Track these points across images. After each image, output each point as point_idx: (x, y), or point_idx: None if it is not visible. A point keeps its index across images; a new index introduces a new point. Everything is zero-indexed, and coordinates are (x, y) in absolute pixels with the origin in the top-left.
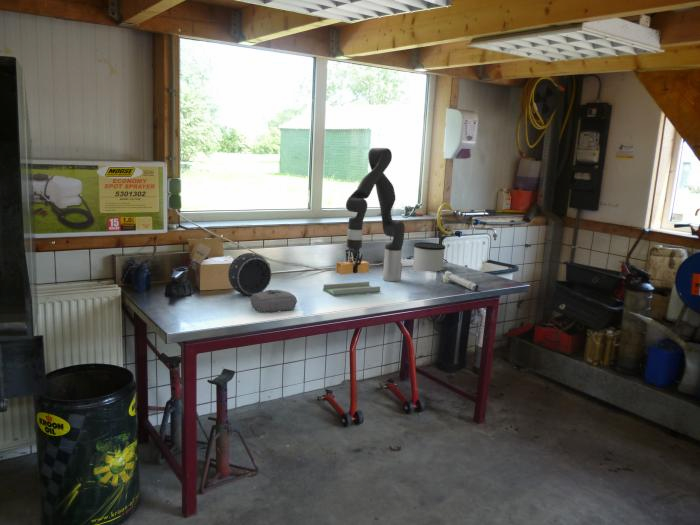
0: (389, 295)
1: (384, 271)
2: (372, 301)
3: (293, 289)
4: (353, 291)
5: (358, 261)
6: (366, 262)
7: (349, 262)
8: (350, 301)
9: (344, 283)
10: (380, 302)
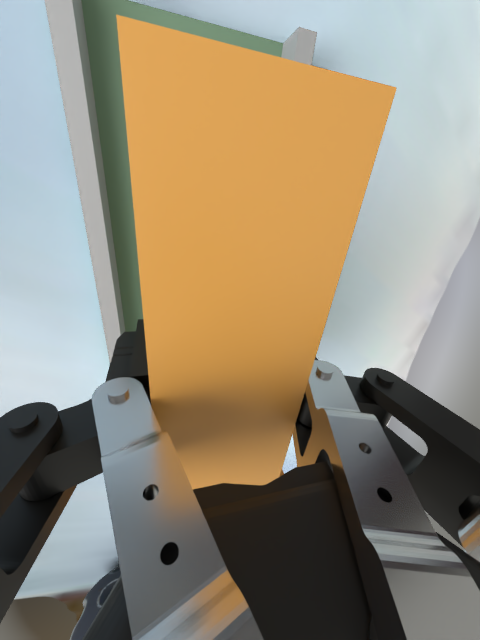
0: (390, 42)
1: None
2: (395, 262)
3: (86, 487)
4: None
5: (357, 406)
6: (324, 143)
7: (204, 458)
8: (338, 349)
9: (116, 301)
10: (429, 233)
